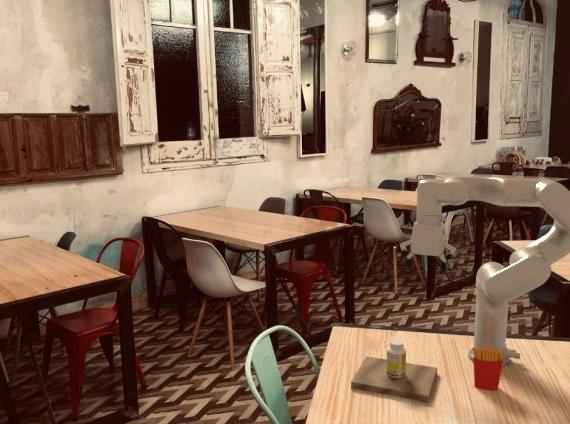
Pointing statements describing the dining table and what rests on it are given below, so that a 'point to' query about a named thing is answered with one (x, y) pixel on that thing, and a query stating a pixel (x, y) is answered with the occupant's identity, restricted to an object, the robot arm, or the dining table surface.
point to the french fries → (487, 368)
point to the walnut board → (395, 380)
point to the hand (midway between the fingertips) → (426, 271)
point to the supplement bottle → (396, 359)
